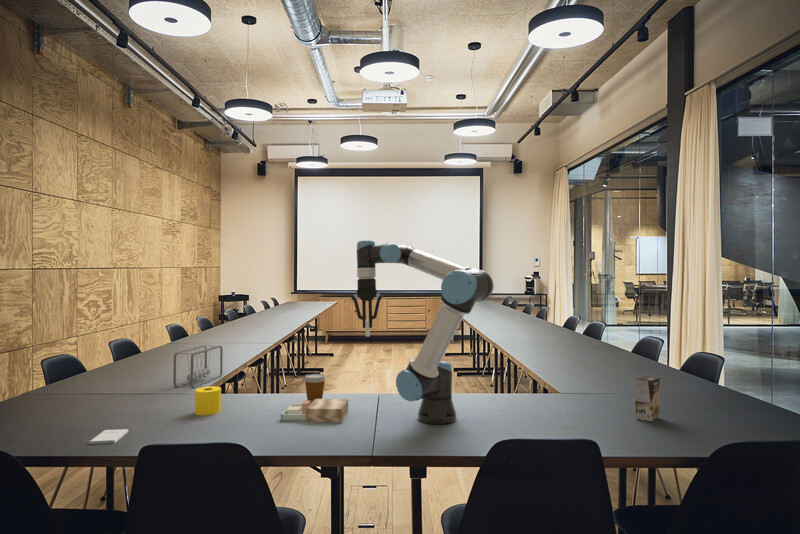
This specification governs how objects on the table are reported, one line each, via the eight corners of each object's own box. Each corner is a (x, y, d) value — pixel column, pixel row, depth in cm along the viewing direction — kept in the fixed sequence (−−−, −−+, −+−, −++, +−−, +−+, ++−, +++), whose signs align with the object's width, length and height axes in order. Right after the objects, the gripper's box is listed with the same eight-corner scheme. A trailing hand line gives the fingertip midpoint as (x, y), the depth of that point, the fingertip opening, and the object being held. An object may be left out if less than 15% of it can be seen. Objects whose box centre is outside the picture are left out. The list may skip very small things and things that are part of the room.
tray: (314, 410, 208) (314, 404, 208) (305, 421, 193) (305, 414, 193) (291, 410, 208) (291, 404, 208) (280, 420, 193) (280, 414, 193)
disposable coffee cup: (321, 406, 215) (321, 378, 215) (300, 405, 217) (300, 377, 217) (328, 400, 224) (328, 374, 224) (308, 399, 226) (308, 373, 226)
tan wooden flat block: (348, 411, 207) (348, 399, 207) (341, 422, 192) (341, 409, 192) (315, 410, 208) (315, 398, 208) (306, 421, 193) (306, 408, 193)
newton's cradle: (192, 389, 246) (192, 353, 246) (172, 388, 248) (173, 352, 248) (222, 376, 276) (222, 344, 276) (205, 376, 277) (205, 344, 278)
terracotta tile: (311, 400, 203) (304, 400, 203) (308, 403, 198) (301, 403, 198) (310, 412, 203) (304, 412, 203) (308, 416, 198) (301, 416, 198)
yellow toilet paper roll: (225, 411, 206) (225, 389, 206) (201, 416, 199) (202, 393, 199) (213, 407, 213) (214, 385, 213) (190, 412, 205) (191, 389, 206)
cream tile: (289, 406, 203) (289, 412, 203) (286, 409, 198) (286, 415, 198) (301, 406, 203) (301, 412, 203) (299, 409, 198) (299, 415, 198)
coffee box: (651, 422, 192) (651, 381, 192) (634, 419, 197) (634, 378, 197) (660, 417, 198) (659, 377, 199) (643, 414, 203) (643, 375, 203)
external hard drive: (88, 446, 167) (104, 434, 179) (114, 444, 168) (128, 433, 180) (88, 441, 167) (104, 429, 179) (114, 440, 168) (128, 428, 180)
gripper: (382, 278, 206) (384, 334, 206) (351, 278, 207) (352, 335, 206) (381, 277, 199) (383, 336, 198) (349, 278, 199) (350, 337, 198)
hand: (367, 336), depth 202 cm, fingers closed
